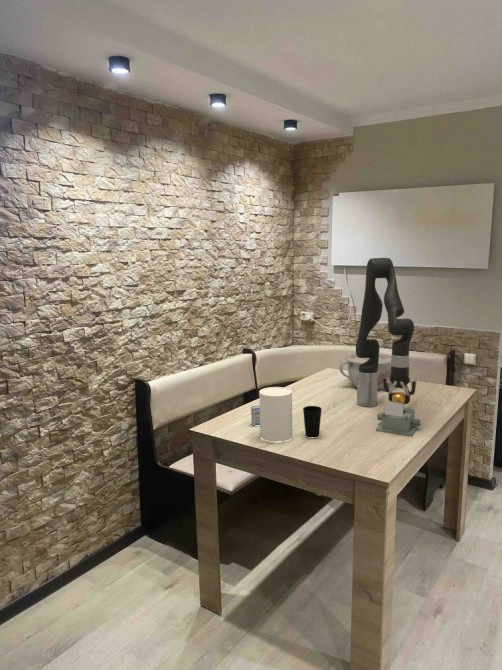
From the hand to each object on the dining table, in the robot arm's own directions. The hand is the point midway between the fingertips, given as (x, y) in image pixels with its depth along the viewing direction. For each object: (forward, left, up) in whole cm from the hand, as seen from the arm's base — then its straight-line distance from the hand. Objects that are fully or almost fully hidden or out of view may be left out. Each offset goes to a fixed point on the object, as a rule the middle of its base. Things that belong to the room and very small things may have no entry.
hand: (399, 402), depth 216 cm
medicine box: (-56, -23, -12) cm, 62 cm away
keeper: (0, -8, -4) cm, 9 cm away
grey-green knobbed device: (0, 0, -11) cm, 11 cm away
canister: (-43, -34, -11) cm, 56 cm away
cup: (-30, -26, -11) cm, 41 cm away
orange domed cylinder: (0, 0, -6) cm, 6 cm away
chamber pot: (-29, +58, -11) cm, 66 cm away
